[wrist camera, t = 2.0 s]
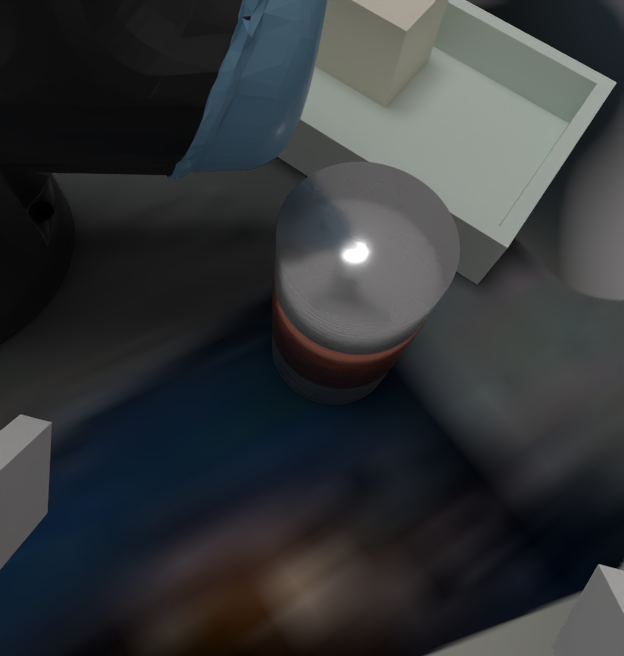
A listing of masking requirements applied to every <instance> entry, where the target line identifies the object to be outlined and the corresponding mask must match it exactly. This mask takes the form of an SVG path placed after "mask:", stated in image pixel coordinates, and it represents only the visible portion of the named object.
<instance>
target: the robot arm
mask: <svg viewBox="0 0 624 656" xmlns="http://www.w3.org/2000/svg"><path fill="white" fill-rule="evenodd" d="M326 6H327V0H0V343H1V342H3V341H4V340H6V339H8V338H9V337H10V336H12V335H13V334H15V333H16V332H17V331H19V330H20V329H21V328H23V327H24V326H25V325H26V324H27V323H28V322H30V321H31V320H32V319H33V318H34V317H35V316H36V315H37V314H38V313H39V312H40V311H41V310H42V308H43V307H44V306H45V305H46V304H47V303H48V301H49V300H50V299H51V297H52V296H53V294H54V293H55V291H56V290H57V288H58V286H59V285H60V283H61V281H62V279H63V277H64V275H65V272H66V270H67V267H68V265H69V261H70V258H71V254H72V248H73V239H74V229H73V221H72V215H71V212H70V208H69V206H68V203H67V201H66V199H65V197H64V195H63V193H62V191H61V189H60V188H59V186H58V184H57V182H56V181H55V179H54V177H53V176H52V174H51V173H90V174H138V175H167V177H168V178H176V177H180V178H182V177H184V176H186V175H187V174H189V173H190V172H207V171H227V170H248V169H254V168H256V167H259V166H262V165H265V164H266V162H269V161H271V160H273V159H275V158H276V157H277V156H278V155H279V154H280V153H281V152H282V151H283V150H284V149H285V148H286V146H287V145H288V143H289V142H290V140H291V138H292V137H293V135H294V132H295V130H296V128H297V126H298V123H299V121H300V118H301V115H302V112H303V109H304V106H305V103H306V99H307V96H308V93H309V89H310V85H311V81H312V77H313V72H314V68H315V64H316V59H317V55H318V50H319V44H320V39H321V34H322V29H323V23H324V17H325V12H326ZM51 428H52V422H48V421H44V420H40V419H37V418H33V417H29V416H25V415H21V414H20V415H19V416H18V417H17V418H15V419H14V420H13V421H12V422H10V423H9V424H8V425H7V426H6V427H4V428H3V429H2V430H1V431H0V569H1V568H2V567H3V566H4V564H5V563H6V562H7V561H8V560H9V558H10V557H11V556H12V555H13V554H14V552H15V551H16V550H17V549H18V548H19V546H20V545H21V544H22V543H23V542H24V540H25V539H26V538H27V537H28V536H29V534H30V533H31V532H32V531H33V530H34V528H35V527H36V526H37V525H38V524H39V522H40V521H41V520H42V519H43V518H44V516H45V515H46V514H47V511H48V490H49V469H50V449H51ZM552 648H553V651H554V654H555V656H624V571H622V570H618V569H615V568H611V567H607V566H603V565H599V564H598V566H597V568H596V569H595V571H594V573H593V575H592V576H591V578H590V580H589V582H588V583H587V585H586V587H585V588H584V590H583V592H582V594H581V595H580V597H579V599H578V601H577V602H576V604H575V606H574V607H573V609H572V611H571V613H570V615H569V616H568V618H567V620H566V621H565V623H564V625H563V626H562V628H561V630H560V632H559V633H558V635H557V637H556V639H555V640H554V642H553V644H552Z"/></svg>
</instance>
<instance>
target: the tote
mask: <svg viewBox="0 0 624 656" xmlns="http://www.w3.org/2000/svg"><path fill="white" fill-rule="evenodd" d="M615 84H616V82H615V81H613V80H611V79H609V78H607V77H605V76H604V75H602V74H600V73H598V72H596V71H594V70H593V69H591V68H589V67H587V66H585V65H583V64H581V63H580V62H578V61H576V60H574V59H572V58H571V57H569V56H567V55H565V54H563V53H561V52H559V51H558V50H556V49H554V48H552V47H550V46H548V45H547V44H545V43H543V42H541V41H539V40H537V39H535V38H534V37H532V36H530V35H528V34H526V33H525V32H523V31H521V30H519V29H517V28H515V27H513V26H512V25H510V24H508V23H506V22H504V21H503V20H501V19H498V18H497V17H495V16H493V15H492V14H490V13H488V12H486V11H484V10H482V9H480V8H479V7H477V6H475V5H473V4H471V3H469V2H468V1H466V0H449V1H448V4H447V7H446V10H445V13H444V16H443V19H442V22H441V24H440V27H439V30H438V33H437V36H436V39H435V42H434V45H433V48H432V51H431V54H430V57H429V60H428V61H427V62H426V63H425V65H424V66H423V67H422V68H421V69H420V70H419V71H418V72H417V73H416V75H415V76H414V77H413V78H412V79H411V80H410V81H409V82H408V83H407V85H406V86H405V87H404V88H403V89H402V90H401V91H400V92H399V93H398V95H397V96H396V97H395V98H394V99H393V100H392V101H391V102H390V103H389V104H388V106H387V107H386V108H384V107H383V106H381V105H379V104H378V103H376V102H374V101H373V100H371V99H369V98H368V97H366V96H364V95H363V94H361V93H359V92H358V91H356V90H354V89H353V88H351V87H349V86H348V85H346V84H344V83H343V82H341V81H339V80H337V79H336V78H334V77H332V76H331V75H329V74H327V73H326V72H324V71H322V70H321V69H319V68H317V67H316V66H315V68H314V72H313V77H312V81H311V85H310V89H309V93H308V96H307V99H306V103H305V106H304V109H303V112H302V115H301V118H300V121H299V123H298V126H297V128H296V130H295V132H294V135H293V137H292V138H291V140H290V142H289V143H288V145H287V146H286V148H285V149H284V150H283V151H282V152H281V153H280V154H279V155H278V156H277V157H278V158H280V159H281V160H283V161H285V162H286V163H288V164H289V165H291V166H292V167H294V168H296V169H297V170H299V171H300V172H302V173H303V174H305V175H306V176H310V175H311V174H313V173H315V172H317V171H319V170H321V169H323V168H326V167H329V166H332V165H336V164H340V163H347V162H373V163H379V164H384V165H388V166H391V167H394V168H397V169H400V170H402V171H404V172H407V173H409V174H410V175H412V176H414V177H416V178H417V179H419V180H420V181H422V182H423V183H425V184H426V185H427V186H428V187H429V188H431V189H432V190H433V191H434V192H435V193H436V194H437V195H438V196H439V197H440V199H441V200H442V201H443V202H444V204H445V205H446V207H447V208H448V210H449V212H450V213H451V215H452V217H453V219H454V222H455V225H456V227H457V231H458V235H459V242H460V258H459V263H458V268H457V271H456V272H458V273H459V274H461V275H463V276H464V277H466V278H467V279H469V280H470V281H472V282H474V283H475V284H477V285H478V284H479V282H480V281H481V280H482V279H483V277H484V276H485V275H486V274H487V273H488V271H489V270H490V269H491V268H492V266H493V265H494V264H495V263H496V262H497V260H498V259H499V258H500V257H501V255H502V254H503V253H504V252H505V251H506V249H507V248H508V247H509V245H510V244H511V242H512V241H513V239H514V238H515V236H516V234H517V233H518V231H519V230H520V228H521V227H522V225H523V224H524V222H525V221H526V219H527V218H528V216H529V215H530V213H531V212H532V210H533V209H534V207H535V205H536V204H537V203H538V201H539V200H540V198H541V196H542V195H543V194H544V192H545V190H546V189H547V187H548V186H549V184H550V183H551V181H552V180H553V178H554V176H555V175H556V174H557V172H558V171H559V169H560V168H561V166H562V165H563V163H564V162H565V160H566V159H567V157H568V155H569V154H570V152H571V151H572V149H573V148H574V146H575V145H576V143H577V142H578V140H579V139H580V137H581V136H582V134H583V133H584V131H585V130H586V128H587V127H588V125H589V124H590V122H591V121H592V119H593V118H594V116H595V115H596V113H597V112H598V110H599V109H600V107H601V105H602V104H603V102H604V101H605V99H606V98H607V96H608V95H609V93H610V92H611V90H612V89H613V87H614V86H615Z"/></svg>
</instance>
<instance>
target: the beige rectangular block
mask: <svg viewBox="0 0 624 656" xmlns="http://www.w3.org/2000/svg"><path fill="white" fill-rule="evenodd" d="M448 1H449V0H327V6H326V12H325V17H324V23H323V29H322V34H321V39H320V44H319V50H318V55H317V59H316V64H315V66H316V67H317V68H319V69H321V70H322V71H324V72H326V73H327V74H329V75H331V76H332V77H334V78H336V79H337V80H339V81H341V82H343V83H344V84H346V85H348V86H349V87H351V88H353V89H354V90H356V91H358V92H359V93H361V94H363V95H364V96H366V97H368V98H369V99H371V100H373V101H374V102H376V103H378V104H379V105H381V106H383V107H384V108H386V107H387V106H388V104H389V103H390V102H391V101H392V100H393V99H394V98H395V97H396V96H397V95H398V93H399V92H400V91H401V90H402V89H403V88H404V87H405V86H406V85H407V83H408V82H409V81H410V80H411V79H412V78H413V77H414V76H415V75H416V73H417V72H418V71H419V70H420V69H421V68H422V67H423V66H424V65H425V63H426V62H427V61H428V60H429V57H430V54H431V51H432V48H433V45H434V42H435V39H436V36H437V33H438V30H439V27H440V24H441V22H442V19H443V16H444V13H445V10H446V7H447V4H448Z"/></svg>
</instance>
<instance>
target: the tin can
mask: <svg viewBox="0 0 624 656" xmlns="http://www.w3.org/2000/svg"><path fill="white" fill-rule="evenodd" d="M459 258H460V242H459V235H458V231H457V227H456V225H455V222H454V219H453V217H452V215H451V213H450V212H449V210H448V208H447V207H446V205H445V204H444V202H443V201H442V200H441V199H440V197H439V196H438V195H437V194H436V193H435V192H434V191H433V190H432V189H431V188H429V187H428V186H427V185H426V184H425V183H423V182H422V181H420V180H419V179H417V178H416V177H414V176H412V175H410V174H409V173H407V172H404V171H402V170H400V169H397V168H394V167H391V166H388V165H384V164H379V163H373V162H347V163H340V164H336V165H332V166H329V167H326V168H323V169H321V170H319V171H317V172H315V173H313V174H311V175H310V176H308V177H307V178H305V179H304V180H303V181H301V182H300V183H299V184H298V185H297V186H296V187H295V188H294V189H293V190H292V192H291V193H290V194H289V195H288V197H287V198H286V200H285V202H284V204H283V205H282V208H281V211H280V213H279V216H278V221H277V227H276V247H275V266H274V273H273V298H272V355H273V360H274V363H275V366H276V369H277V371H278V373H279V374H280V376H281V378H282V379H283V380H284V382H285V383H286V384H287V385H288V386H289V387H290V388H291V389H292V390H293V391H294V392H296V393H297V394H299V395H300V396H302V397H303V398H306V399H308V400H310V401H313V402H316V403H319V404H325V405H343V404H348V403H352V402H355V401H357V400H359V399H361V398H363V397H365V396H367V395H368V394H369V393H371V392H372V391H373V390H374V389H375V388H376V387H377V386H378V385H379V384H380V382H381V381H382V380H383V378H384V377H385V375H386V374H387V373H388V371H389V370H390V369H391V368H392V367H393V366H394V364H395V363H396V362H397V360H398V359H399V358H400V356H401V355H402V353H403V352H404V351H405V349H406V348H407V346H408V345H409V344H410V342H411V341H412V340H413V338H414V337H415V335H416V334H417V333H418V331H419V330H420V328H421V327H422V326H423V324H424V322H425V321H426V319H427V317H428V315H429V314H430V312H431V311H432V310H433V308H434V307H435V305H436V304H437V303H438V301H439V300H440V298H441V297H442V296H443V294H444V293H445V291H446V290H447V289H448V287H449V285H450V284H451V282H452V280H453V278H454V276H455V273H456V271H457V268H458V263H459Z"/></svg>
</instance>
